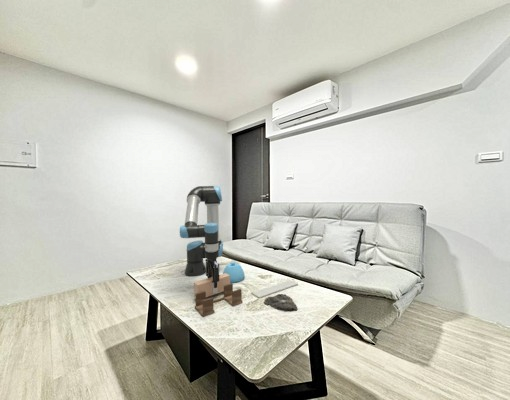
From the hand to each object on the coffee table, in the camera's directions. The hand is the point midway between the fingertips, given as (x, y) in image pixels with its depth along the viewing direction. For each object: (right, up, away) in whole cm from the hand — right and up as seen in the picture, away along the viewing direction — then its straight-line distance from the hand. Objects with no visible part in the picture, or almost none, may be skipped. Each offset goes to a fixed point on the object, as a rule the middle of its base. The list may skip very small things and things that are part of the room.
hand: (212, 291), depth 123 cm
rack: (+5, -3, -11) cm, 13 cm away
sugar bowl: (+9, -2, +25) cm, 26 cm away
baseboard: (+36, -3, +8) cm, 37 cm away
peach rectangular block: (0, -1, 0) cm, 1 cm away
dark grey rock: (+39, -3, -10) cm, 40 cm away
